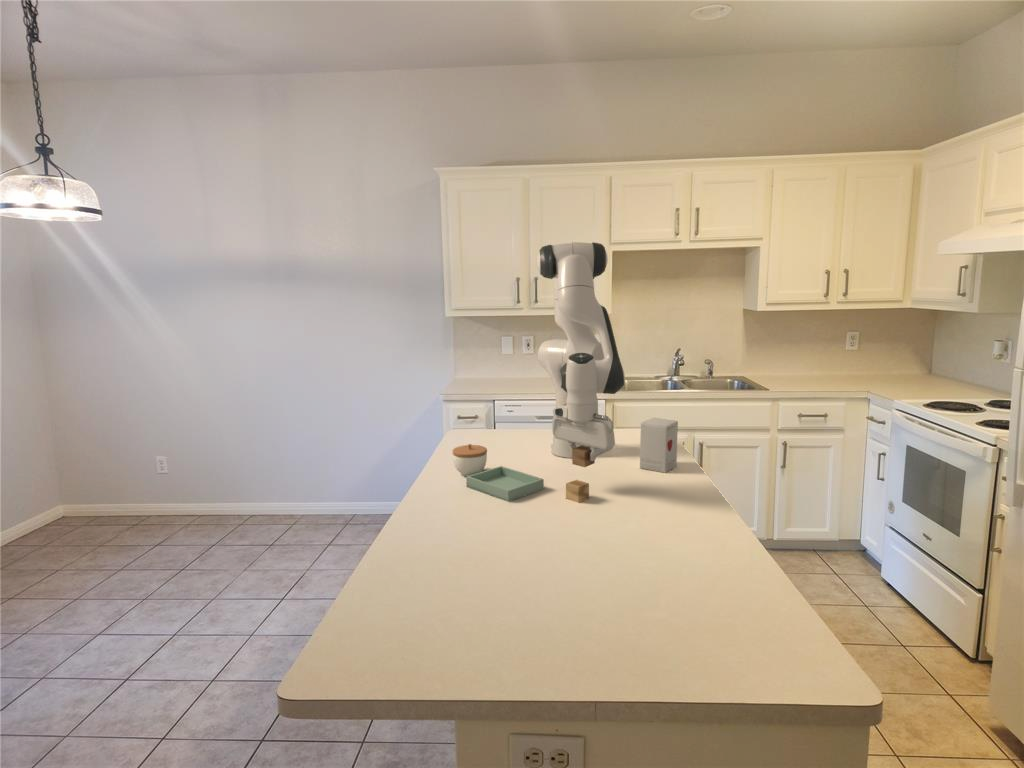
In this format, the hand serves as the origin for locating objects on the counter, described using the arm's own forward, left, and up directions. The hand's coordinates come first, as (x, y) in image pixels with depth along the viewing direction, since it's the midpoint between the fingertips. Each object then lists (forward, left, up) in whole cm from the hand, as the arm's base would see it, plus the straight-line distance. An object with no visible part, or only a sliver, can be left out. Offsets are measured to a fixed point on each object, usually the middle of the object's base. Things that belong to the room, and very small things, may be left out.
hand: (583, 458), depth 186 cm
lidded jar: (+13, -35, -9) cm, 39 cm away
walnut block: (0, 0, -2) cm, 2 cm away
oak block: (+7, +4, -9) cm, 12 cm away
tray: (+15, -17, -9) cm, 25 cm away
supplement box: (-32, +4, -9) cm, 33 cm away
